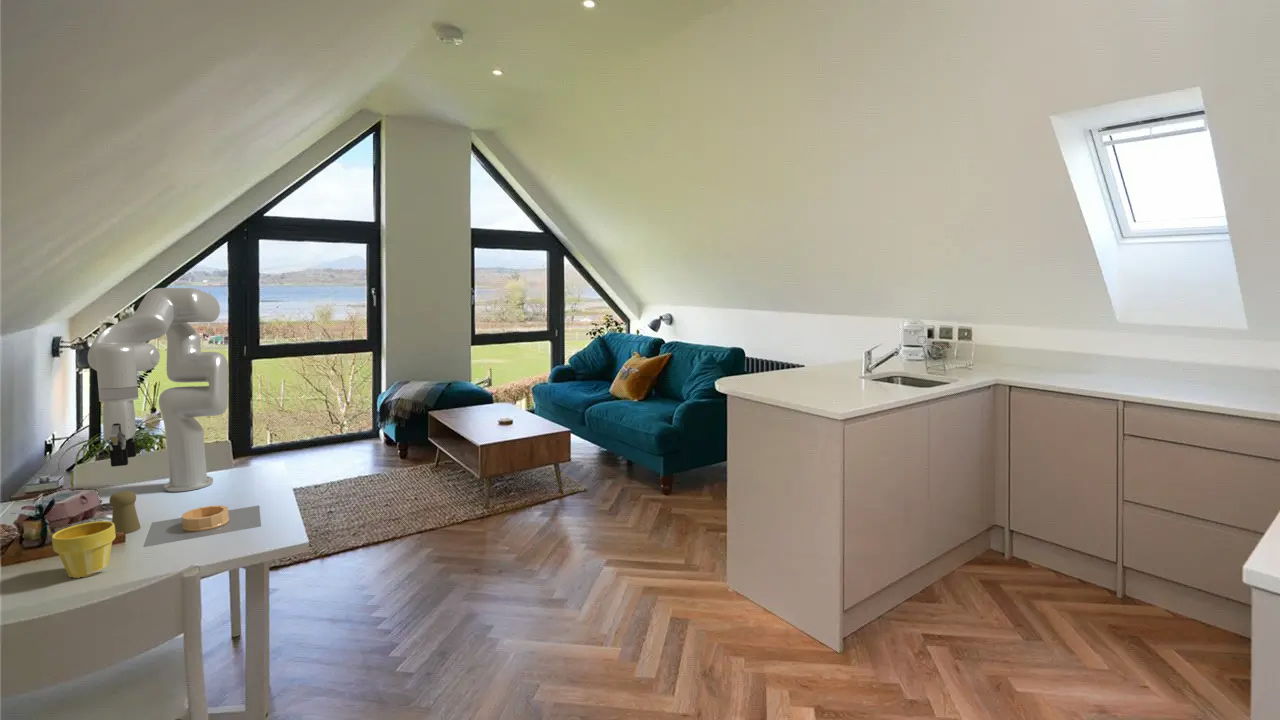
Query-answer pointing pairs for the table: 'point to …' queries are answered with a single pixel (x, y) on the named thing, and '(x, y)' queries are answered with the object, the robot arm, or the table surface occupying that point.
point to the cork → (124, 512)
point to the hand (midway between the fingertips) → (124, 461)
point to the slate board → (174, 531)
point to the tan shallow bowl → (205, 518)
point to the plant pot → (84, 547)
